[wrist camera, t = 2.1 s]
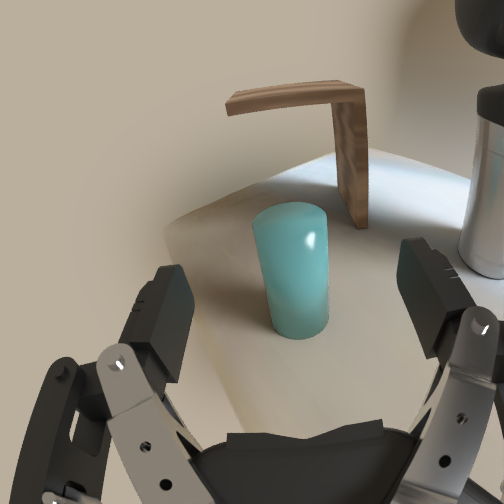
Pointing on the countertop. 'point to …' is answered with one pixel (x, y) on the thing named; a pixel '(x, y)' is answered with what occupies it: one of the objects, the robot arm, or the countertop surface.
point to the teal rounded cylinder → (294, 267)
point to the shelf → (344, 122)
